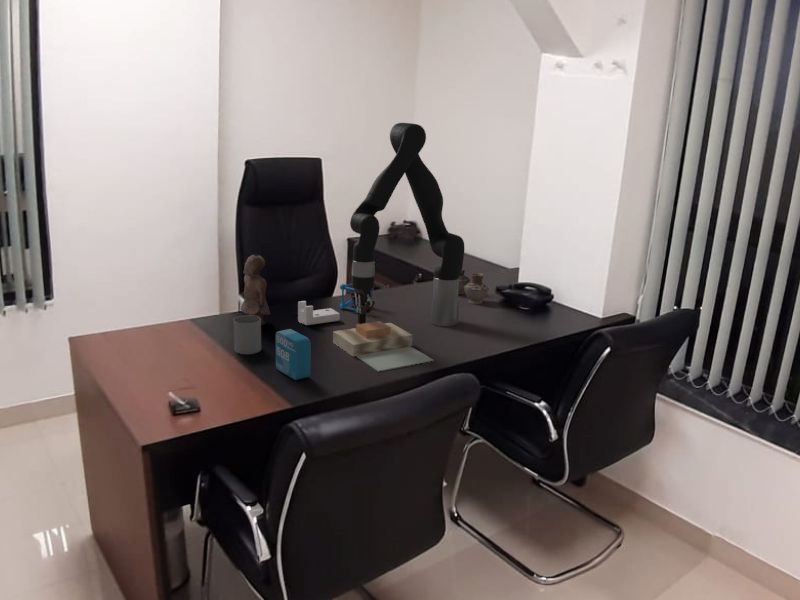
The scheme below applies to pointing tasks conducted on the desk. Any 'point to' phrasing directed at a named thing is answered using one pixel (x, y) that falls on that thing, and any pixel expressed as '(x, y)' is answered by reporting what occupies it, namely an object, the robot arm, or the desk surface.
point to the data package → (293, 354)
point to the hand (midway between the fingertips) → (361, 323)
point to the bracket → (315, 314)
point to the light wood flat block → (371, 341)
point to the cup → (247, 334)
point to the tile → (373, 329)
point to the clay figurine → (254, 289)
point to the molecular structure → (343, 306)
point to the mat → (394, 358)
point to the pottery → (472, 287)
